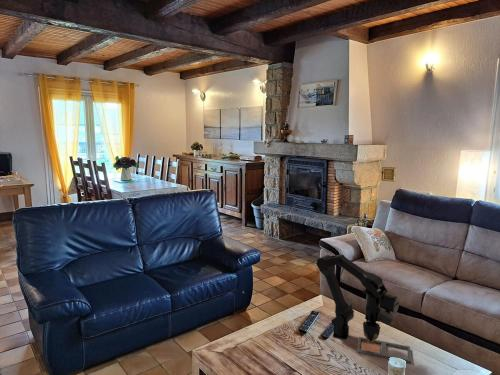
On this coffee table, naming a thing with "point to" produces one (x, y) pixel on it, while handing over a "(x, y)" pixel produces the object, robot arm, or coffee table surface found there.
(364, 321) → the bronze ornate bell
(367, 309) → the robot arm
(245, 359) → the coffee table surface
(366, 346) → the grey double frame
